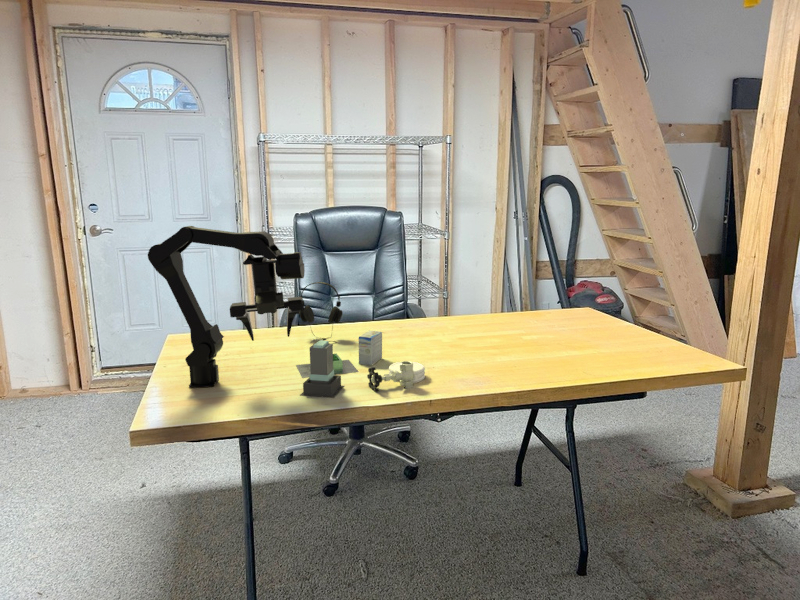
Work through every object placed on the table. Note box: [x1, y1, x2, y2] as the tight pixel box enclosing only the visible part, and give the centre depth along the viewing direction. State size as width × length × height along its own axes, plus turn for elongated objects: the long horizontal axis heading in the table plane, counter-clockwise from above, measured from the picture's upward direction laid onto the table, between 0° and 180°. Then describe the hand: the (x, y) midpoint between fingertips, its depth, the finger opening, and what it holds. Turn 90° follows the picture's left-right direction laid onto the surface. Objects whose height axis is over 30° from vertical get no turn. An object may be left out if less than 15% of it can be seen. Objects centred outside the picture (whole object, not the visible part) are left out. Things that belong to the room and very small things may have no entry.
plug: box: [309, 339, 334, 384], centre depth 144 cm, size 5×5×13 cm
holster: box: [299, 374, 345, 399], centre depth 145 cm, size 9×9×4 cm
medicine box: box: [358, 330, 383, 367], centre depth 170 cm, size 8×4×9 cm, turn 159°
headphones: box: [298, 281, 344, 345], centre depth 193 cm, size 15×11×20 cm
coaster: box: [388, 361, 426, 384], centre depth 156 cm, size 10×10×4 cm
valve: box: [366, 360, 415, 393], centre depth 148 cm, size 7×7×12 cm
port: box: [295, 353, 359, 379], centre depth 162 cm, size 16×12×4 cm
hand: (270, 338), depth 150 cm, fingers open, 9 cm apart
